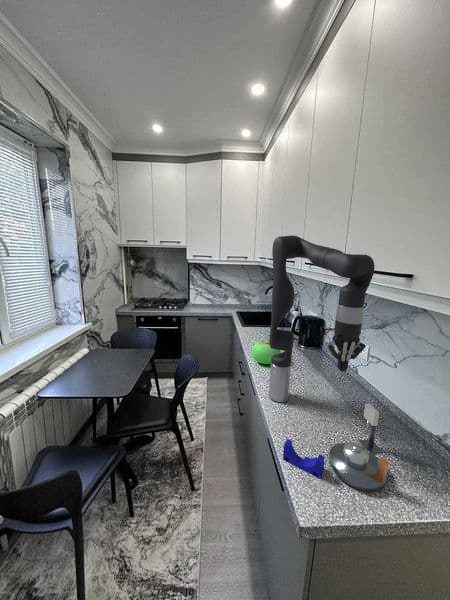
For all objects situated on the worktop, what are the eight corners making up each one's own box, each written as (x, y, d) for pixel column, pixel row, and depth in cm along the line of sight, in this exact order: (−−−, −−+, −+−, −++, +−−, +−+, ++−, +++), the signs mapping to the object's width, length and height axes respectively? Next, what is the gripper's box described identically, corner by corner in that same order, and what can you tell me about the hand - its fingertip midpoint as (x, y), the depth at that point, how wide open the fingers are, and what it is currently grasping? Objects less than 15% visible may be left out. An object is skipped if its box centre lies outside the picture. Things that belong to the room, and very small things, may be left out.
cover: (338, 458, 79) (340, 444, 78) (350, 449, 83) (352, 435, 82) (360, 474, 74) (362, 459, 73) (371, 464, 77) (374, 449, 76)
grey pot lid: (318, 460, 81) (321, 439, 79) (346, 441, 89) (348, 421, 88) (369, 501, 67) (373, 476, 66) (395, 474, 76) (399, 452, 75)
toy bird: (253, 368, 148) (254, 344, 146) (249, 356, 165) (250, 335, 162) (282, 368, 149) (284, 345, 146) (276, 356, 166) (277, 336, 163)
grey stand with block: (358, 442, 91) (364, 402, 88) (371, 441, 91) (377, 402, 88) (368, 455, 85) (375, 413, 82) (382, 454, 85) (389, 413, 83)
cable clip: (323, 469, 79) (325, 453, 78) (319, 479, 75) (321, 462, 74) (288, 451, 86) (289, 436, 85) (282, 459, 82) (284, 444, 81)
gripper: (334, 323, 73) (328, 376, 76) (376, 322, 74) (368, 375, 78) (322, 316, 80) (317, 365, 84) (361, 315, 81) (354, 364, 85)
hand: (342, 370), depth 81 cm, fingers closed
